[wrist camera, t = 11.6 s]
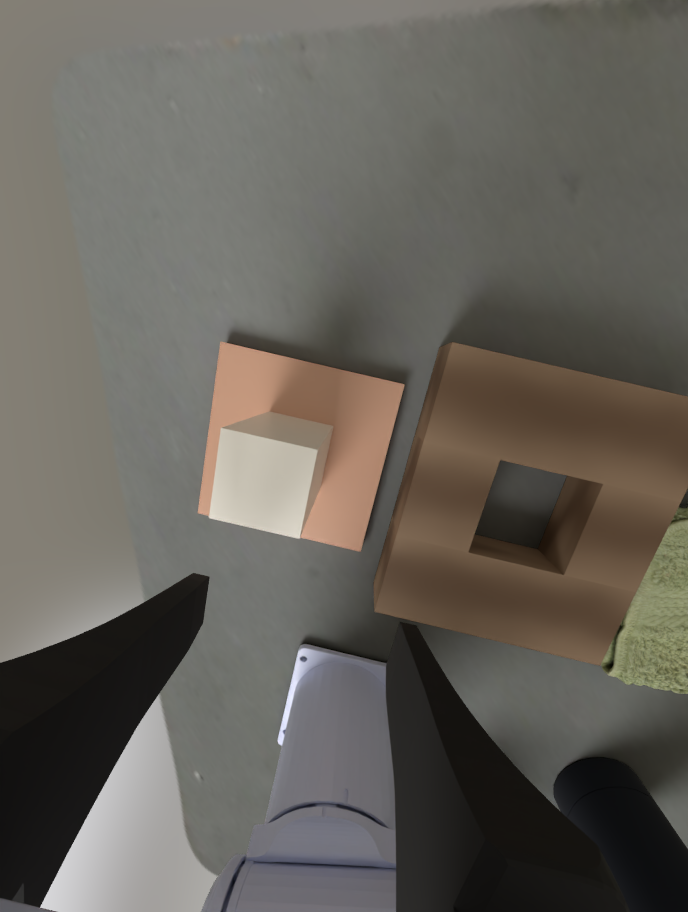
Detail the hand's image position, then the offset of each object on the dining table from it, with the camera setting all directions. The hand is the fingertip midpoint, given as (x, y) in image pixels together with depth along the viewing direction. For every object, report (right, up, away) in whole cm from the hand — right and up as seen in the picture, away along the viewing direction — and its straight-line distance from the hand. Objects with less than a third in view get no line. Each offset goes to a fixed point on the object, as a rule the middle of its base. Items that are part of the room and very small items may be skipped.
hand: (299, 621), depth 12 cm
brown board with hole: (+12, +3, +9) cm, 16 cm away
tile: (-1, +6, +9) cm, 11 cm away
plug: (-1, +6, +8) cm, 11 cm away
